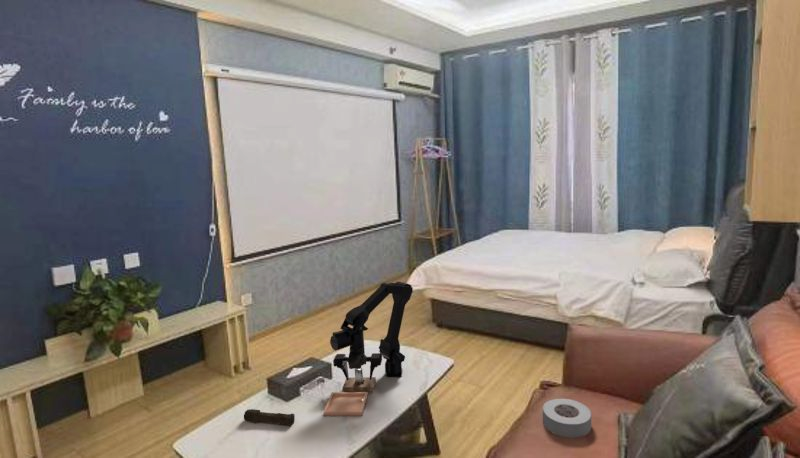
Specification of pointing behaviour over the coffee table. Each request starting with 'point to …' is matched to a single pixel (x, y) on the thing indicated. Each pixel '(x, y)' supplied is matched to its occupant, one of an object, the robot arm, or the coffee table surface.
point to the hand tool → (268, 417)
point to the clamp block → (366, 387)
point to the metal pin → (359, 376)
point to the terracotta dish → (346, 404)
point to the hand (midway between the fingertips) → (359, 379)
